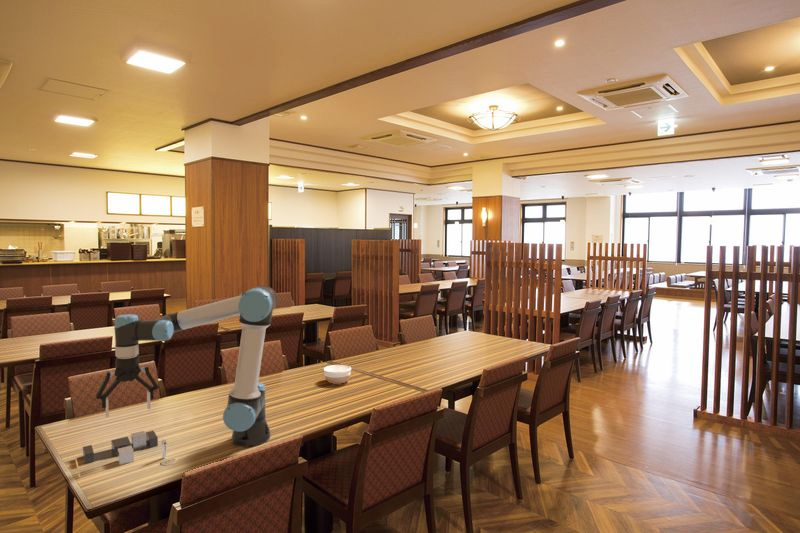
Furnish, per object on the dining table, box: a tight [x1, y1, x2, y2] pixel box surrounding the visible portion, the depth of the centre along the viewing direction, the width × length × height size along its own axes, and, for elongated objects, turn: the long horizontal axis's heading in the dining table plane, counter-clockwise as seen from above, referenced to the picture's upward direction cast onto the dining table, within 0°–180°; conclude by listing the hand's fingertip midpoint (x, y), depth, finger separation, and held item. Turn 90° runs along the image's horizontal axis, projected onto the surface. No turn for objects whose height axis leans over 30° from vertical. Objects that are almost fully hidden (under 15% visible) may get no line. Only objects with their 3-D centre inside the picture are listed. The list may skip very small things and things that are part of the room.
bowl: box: [323, 364, 352, 385], centre depth 269 cm, size 16×16×8 cm
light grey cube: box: [130, 430, 146, 450], centre depth 183 cm, size 4×4×5 cm
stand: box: [159, 439, 176, 466], centre depth 173 cm, size 8×5×8 cm
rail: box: [82, 430, 159, 465], centre depth 180 cm, size 8×24×4 cm, turn 129°
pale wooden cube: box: [117, 446, 135, 466], centre depth 172 cm, size 4×4×5 cm
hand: (128, 412), depth 174 cm, fingers open, 13 cm apart
